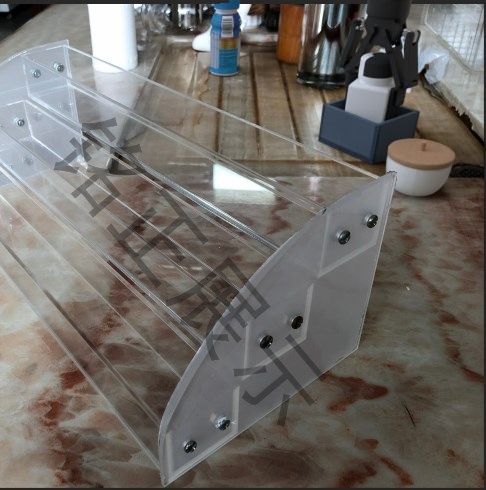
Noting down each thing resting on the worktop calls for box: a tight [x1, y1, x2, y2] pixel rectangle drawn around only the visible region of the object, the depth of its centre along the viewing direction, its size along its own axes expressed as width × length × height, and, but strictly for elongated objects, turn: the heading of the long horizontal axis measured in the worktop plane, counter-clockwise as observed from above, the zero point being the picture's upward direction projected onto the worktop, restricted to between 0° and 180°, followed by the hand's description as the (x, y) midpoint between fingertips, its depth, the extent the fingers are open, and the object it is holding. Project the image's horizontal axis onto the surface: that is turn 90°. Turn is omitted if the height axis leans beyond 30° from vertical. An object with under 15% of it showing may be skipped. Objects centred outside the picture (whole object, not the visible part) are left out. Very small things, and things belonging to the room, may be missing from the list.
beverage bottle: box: [209, 0, 243, 77], centre depth 158 cm, size 8×8×20 cm
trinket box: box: [385, 138, 456, 197], centre depth 103 cm, size 11×11×9 cm
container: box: [345, 51, 395, 123], centre depth 116 cm, size 8×8×13 cm
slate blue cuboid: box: [317, 97, 421, 166], centre depth 120 cm, size 8×14×12 cm
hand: (369, 112), depth 118 cm, fingers closed on container, 9 cm apart
